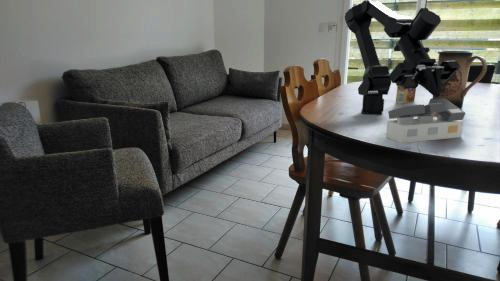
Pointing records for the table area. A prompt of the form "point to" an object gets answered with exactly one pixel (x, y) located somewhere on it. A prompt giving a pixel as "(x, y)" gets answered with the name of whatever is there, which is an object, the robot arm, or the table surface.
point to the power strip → (423, 128)
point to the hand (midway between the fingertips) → (437, 96)
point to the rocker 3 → (449, 110)
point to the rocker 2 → (433, 109)
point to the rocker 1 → (407, 111)
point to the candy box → (405, 95)
